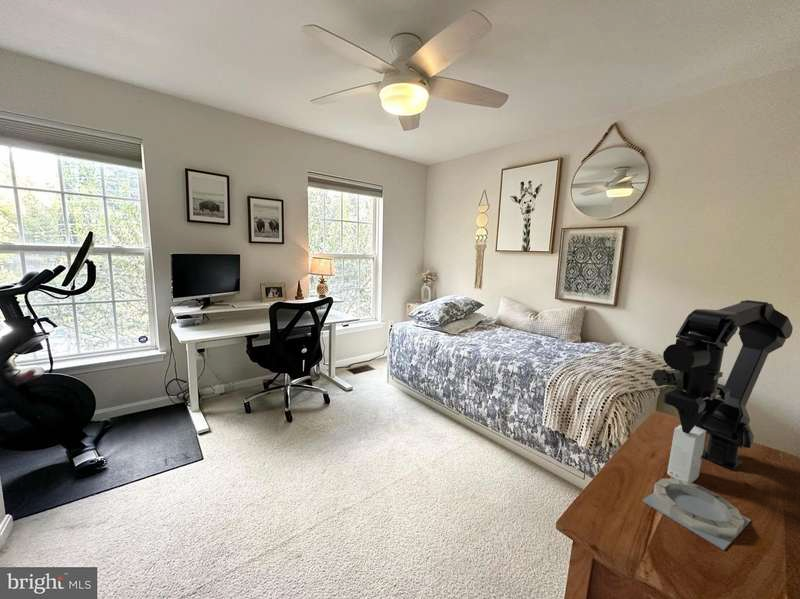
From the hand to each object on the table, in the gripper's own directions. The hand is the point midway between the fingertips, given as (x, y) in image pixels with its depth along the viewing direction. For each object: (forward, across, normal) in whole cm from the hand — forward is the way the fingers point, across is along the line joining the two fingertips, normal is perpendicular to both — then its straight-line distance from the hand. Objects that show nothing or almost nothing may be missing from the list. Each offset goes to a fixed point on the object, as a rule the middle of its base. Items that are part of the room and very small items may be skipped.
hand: (691, 429), depth 76 cm
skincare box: (+12, 0, 0) cm, 12 cm away
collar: (+12, +11, +6) cm, 18 cm away
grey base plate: (+12, +11, +6) cm, 18 cm away
